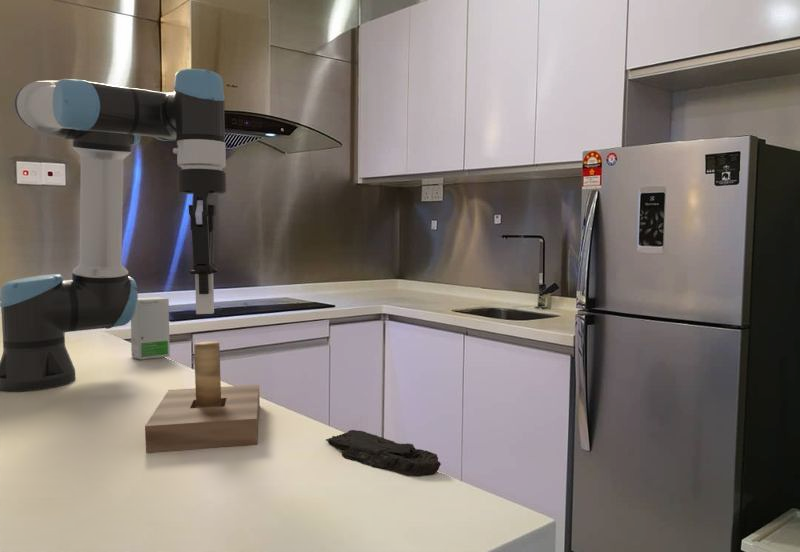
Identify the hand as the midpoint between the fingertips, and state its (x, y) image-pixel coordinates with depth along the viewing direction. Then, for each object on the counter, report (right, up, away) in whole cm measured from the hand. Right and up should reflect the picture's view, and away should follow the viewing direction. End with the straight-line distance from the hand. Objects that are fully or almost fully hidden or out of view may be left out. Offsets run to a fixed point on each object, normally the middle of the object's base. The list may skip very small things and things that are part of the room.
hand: (205, 313), depth 104 cm
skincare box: (-34, -15, +62) cm, 73 cm away
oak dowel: (0, -19, +1) cm, 19 cm away
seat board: (0, -19, +1) cm, 19 cm away
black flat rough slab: (+29, -20, -13) cm, 38 cm away
